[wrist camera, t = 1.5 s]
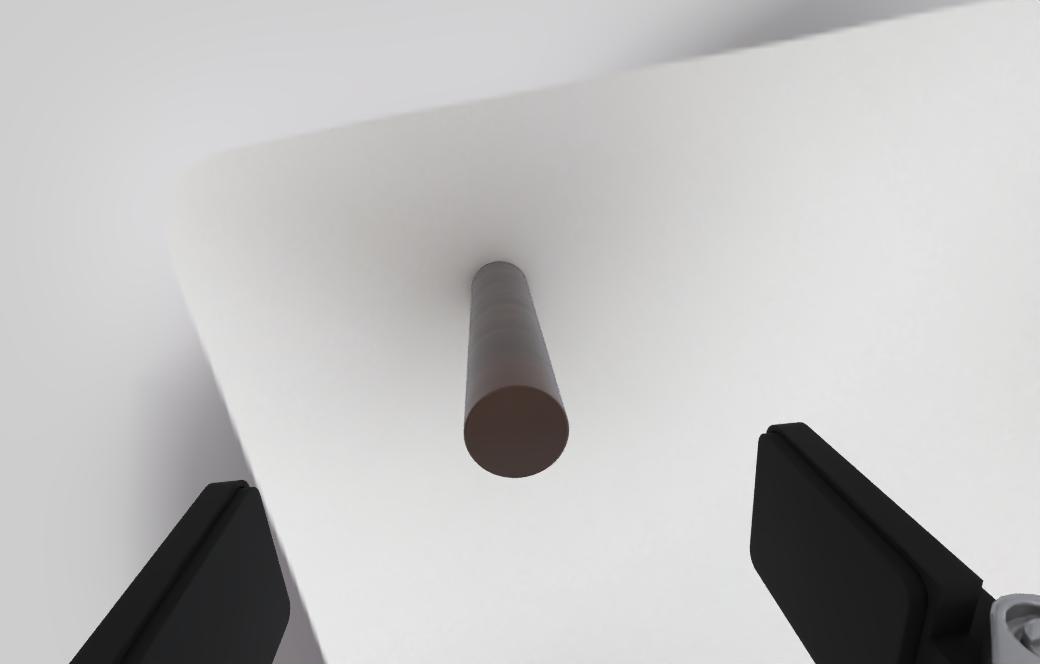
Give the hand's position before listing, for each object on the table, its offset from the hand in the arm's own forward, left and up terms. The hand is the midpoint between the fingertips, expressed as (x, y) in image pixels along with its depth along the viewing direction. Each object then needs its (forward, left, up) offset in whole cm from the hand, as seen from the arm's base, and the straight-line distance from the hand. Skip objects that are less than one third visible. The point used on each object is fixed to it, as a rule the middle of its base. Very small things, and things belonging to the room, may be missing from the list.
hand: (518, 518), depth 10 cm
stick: (0, 0, -15) cm, 15 cm away
